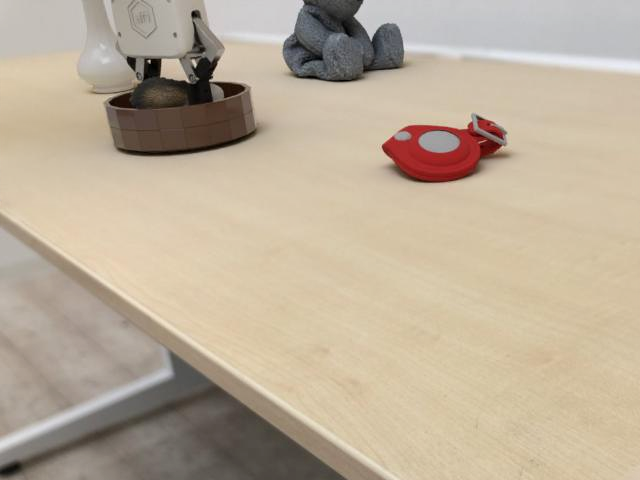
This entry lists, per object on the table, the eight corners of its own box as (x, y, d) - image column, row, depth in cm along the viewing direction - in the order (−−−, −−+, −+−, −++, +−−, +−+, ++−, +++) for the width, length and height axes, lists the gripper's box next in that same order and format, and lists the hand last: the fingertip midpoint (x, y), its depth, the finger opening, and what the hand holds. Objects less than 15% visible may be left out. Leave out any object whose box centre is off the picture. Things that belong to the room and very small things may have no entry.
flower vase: (60, 105, 117) (7, -88, 106) (83, 84, 134) (40, -86, 122) (151, 96, 120) (110, -93, 108) (164, 77, 136) (129, -90, 124)
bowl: (83, 150, 91) (71, 105, 89) (185, 119, 104) (176, 79, 102) (190, 161, 84) (180, 113, 82) (284, 126, 97) (278, 83, 95)
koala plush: (348, 84, 120) (332, -62, 111) (260, 78, 129) (239, -57, 120) (412, 65, 133) (403, -67, 124) (328, 61, 142) (314, -62, 133)
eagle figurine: (175, 112, 99) (118, 114, 91) (197, 62, 95) (140, 59, 87) (218, 150, 97) (165, 155, 90) (242, 101, 94) (189, 101, 86)
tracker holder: (457, 175, 70) (363, 140, 73) (455, 215, 73) (364, 180, 77) (519, 114, 78) (430, 85, 81) (514, 153, 81) (429, 124, 84)
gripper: (61, -52, 85) (104, 119, 94) (182, -58, 78) (216, 128, 86) (116, -55, 91) (152, 106, 100) (233, -62, 84) (261, 113, 92)
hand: (182, 114), depth 93 cm, fingers closed on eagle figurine, 6 cm apart
